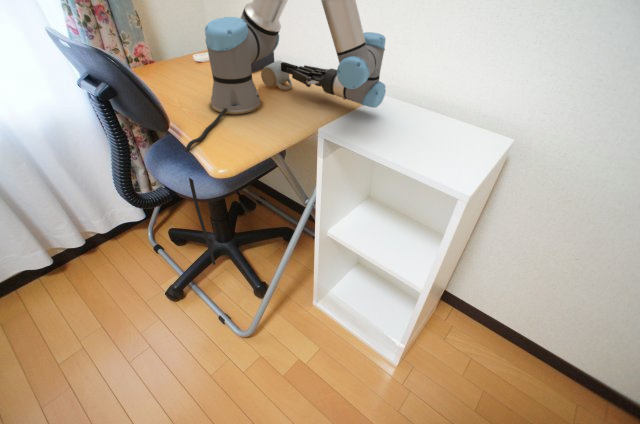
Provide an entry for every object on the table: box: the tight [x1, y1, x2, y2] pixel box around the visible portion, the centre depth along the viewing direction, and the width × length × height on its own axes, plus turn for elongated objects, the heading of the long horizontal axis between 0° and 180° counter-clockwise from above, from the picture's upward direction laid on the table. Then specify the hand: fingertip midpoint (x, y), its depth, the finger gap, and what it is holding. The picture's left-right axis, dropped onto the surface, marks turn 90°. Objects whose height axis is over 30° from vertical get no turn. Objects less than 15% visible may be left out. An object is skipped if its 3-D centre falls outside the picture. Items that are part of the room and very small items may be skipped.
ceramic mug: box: [260, 60, 293, 91], centre depth 111 cm, size 11×8×8 cm
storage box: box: [251, 50, 275, 74], centre depth 126 cm, size 13×13×11 cm
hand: (282, 66), depth 108 cm, fingers closed
